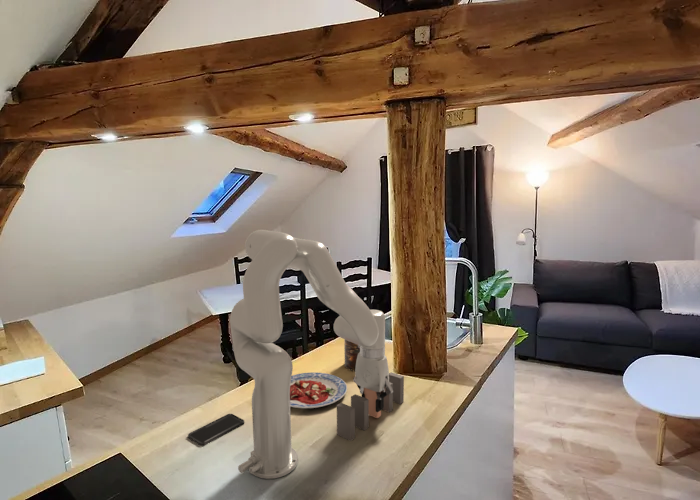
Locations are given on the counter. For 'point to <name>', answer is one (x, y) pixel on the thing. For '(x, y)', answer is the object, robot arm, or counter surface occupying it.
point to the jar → (351, 355)
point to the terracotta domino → (372, 402)
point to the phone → (215, 429)
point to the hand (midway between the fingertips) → (372, 406)
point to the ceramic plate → (315, 390)
